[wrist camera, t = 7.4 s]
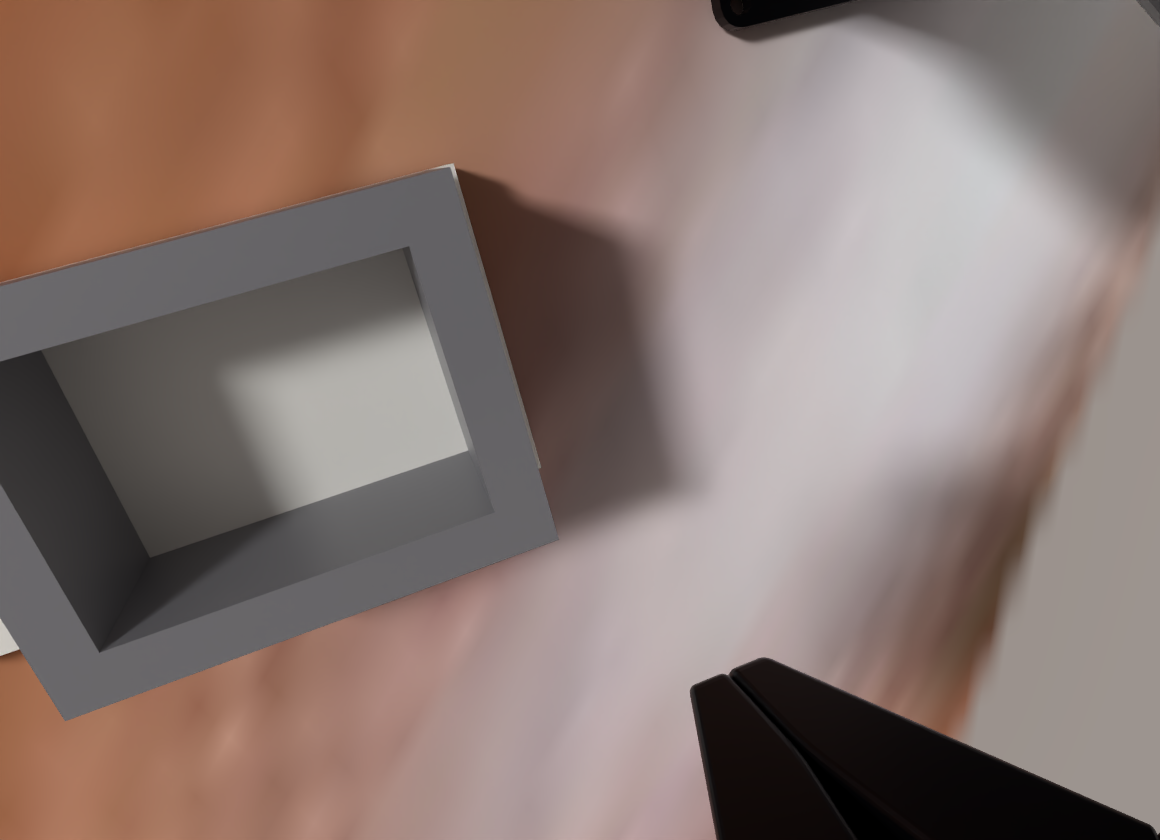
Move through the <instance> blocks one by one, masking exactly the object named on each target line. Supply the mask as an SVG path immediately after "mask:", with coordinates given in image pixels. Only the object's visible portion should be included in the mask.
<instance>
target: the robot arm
mask: <svg viewBox="0 0 1160 840" xmlns="http://www.w3.org/2000/svg"><path fill="white" fill-rule="evenodd" d="M853 1H857V0H742V3H743V9H742V12H741V14H740V15H737V14H735V13H734V12H733V11H732V8H731V5H730V4H731V0H711V3H712V10H713V14H714V16H715V19H716V21H717V22H718V24H719V25H720V26H721V27H722V28H724V29H726V30H728V31H735V30H740V29H744V28H748V27H752V26H756V25H760V24H764V23H768V22H772V21H776V20H780V19H784V18H788V17H792V16H796V15H800V14H804V13H808V12H812V11H816V10H820V9H824V8H828V7H832V6H837V5H841V4H845V3H849V2H853ZM1137 1H1138V3H1139V4H1140V5H1141V6H1142V7H1143V9H1144V10H1145V11H1146V12H1147V13H1148V14H1149V16H1150V17H1151V18H1152V19H1153V20H1154V22H1155V23H1156V24H1157V25H1159V26H1160V0H1137ZM690 697H691V702H692V708H693V713H694V719H695V724H696V730H697V735H698V741H699V746H700V751H701V757H702V762H703V768H704V773H705V779H706V784H707V790H708V795H709V801H710V806H711V812H712V817H713V823H714V828H715V834H716V839H717V840H1160V833H1159V834H1158V835H1157V833H1156V831H1155V829H1154V828H1153V827H1152V826H1151V825H1149V824H1147V823H1144V822H1142V821H1140V820H1138V819H1135V818H1133V817H1131V816H1128V815H1126V814H1124V813H1122V812H1119V811H1117V810H1115V809H1113V808H1110V807H1108V806H1106V805H1103V804H1101V803H1099V802H1097V801H1094V800H1092V799H1090V798H1087V797H1085V796H1083V795H1081V794H1078V793H1076V792H1073V791H1071V790H1069V789H1067V788H1065V787H1062V786H1060V785H1058V784H1055V783H1053V782H1051V781H1049V780H1046V779H1044V778H1042V777H1040V776H1037V775H1035V774H1033V773H1030V772H1028V771H1026V770H1024V769H1021V768H1019V767H1017V766H1014V765H1012V764H1010V763H1008V762H1005V761H1003V760H1001V759H998V758H996V757H994V756H992V755H989V754H987V753H985V752H983V751H980V750H978V749H976V748H973V747H971V746H969V745H967V744H964V743H962V742H960V741H957V740H955V739H953V738H951V737H948V736H946V735H944V734H941V733H939V732H937V731H935V730H932V729H930V728H928V727H925V726H923V725H921V724H919V723H916V722H914V721H912V720H910V719H907V718H905V717H903V716H900V715H898V714H896V713H894V712H891V711H889V710H887V709H884V708H882V707H880V706H878V705H875V704H873V703H871V702H868V701H866V700H864V699H862V698H859V697H857V696H855V695H852V694H850V693H848V692H846V691H843V690H841V689H839V688H836V687H834V686H832V685H830V684H827V683H825V682H823V681H821V680H818V679H816V678H814V677H811V676H809V675H807V674H805V673H802V672H800V671H798V670H795V669H793V668H791V667H789V666H786V665H784V664H782V663H779V662H777V661H775V660H773V659H770V658H764V657H763V658H758V659H756V660H753V661H751V662H748V663H746V664H744V665H741V666H739V667H736V668H734V669H732V670H731V672H730V673H729V675H726V674H719V675H717V676H714V677H712V678H709V679H707V680H704V681H702V682H700V683H697V684H695V685H693V686H692V687H691V689H690Z"/></svg>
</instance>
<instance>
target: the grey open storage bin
mask: <svg viewBox="0 0 1160 840" xmlns="http://www.w3.org/2000/svg"><path fill="white" fill-rule="evenodd" d="M539 468H542V467H541V464H540V460H539V457H538V454H537V450H536V447H535V443H534V440H533V436H532V433H531V429H530V426H529V422H528V419H527V416H526V412H525V409H524V405H523V402H522V398H521V395H520V391H519V388H518V384H517V381H516V378H515V374H514V371H513V367H512V364H511V360H510V357H509V353H508V350H507V347H506V343H505V340H504V336H503V333H502V329H501V326H500V322H499V319H498V315H497V312H496V309H495V305H494V302H493V298H492V295H491V291H490V288H489V284H488V281H487V277H486V274H485V271H484V267H483V264H482V260H481V257H480V253H479V250H478V246H477V243H476V239H475V236H474V233H473V229H472V226H471V222H470V219H469V215H468V212H467V208H466V205H465V201H464V198H463V195H462V191H461V188H460V184H459V181H458V177H457V174H456V170H455V167H454V163H452V164H447V165H443V166H439V167H435V168H431V169H428V170H424V171H420V172H416V173H412V174H409V175H405V176H401V177H397V178H394V179H390V180H386V181H382V182H378V183H375V184H371V185H367V186H363V187H360V188H356V189H352V190H348V191H344V192H341V193H337V194H333V195H329V196H326V197H322V198H318V199H314V200H310V201H307V202H303V203H299V204H295V205H292V206H288V207H284V208H280V209H276V210H273V211H269V212H265V213H261V214H257V215H254V216H250V217H246V218H242V219H239V220H235V221H231V222H227V223H223V224H220V225H216V226H212V227H208V228H205V229H201V230H197V231H193V232H189V233H186V234H182V235H178V236H174V237H171V238H167V239H163V240H159V241H155V242H152V243H148V244H144V245H140V246H137V247H133V248H129V249H125V250H121V251H118V252H114V253H110V254H106V255H103V256H99V257H95V258H91V259H87V260H84V261H80V262H76V263H72V264H68V265H65V266H61V267H57V268H53V269H50V270H46V271H42V272H38V273H34V274H31V275H27V276H23V277H19V278H16V279H12V280H8V281H4V282H0V656H1V655H4V654H7V653H10V652H13V651H16V650H19V649H20V650H21V652H22V654H23V655H24V657H25V658H26V660H27V662H28V663H29V665H30V666H31V668H32V669H33V671H34V673H35V674H36V676H37V677H38V679H39V681H40V682H41V684H42V685H43V687H44V688H45V690H46V692H47V693H48V695H49V696H50V698H51V700H52V701H53V703H54V704H55V706H56V707H57V709H58V711H59V712H60V714H61V715H62V717H63V719H64V720H65V721H67V720H70V719H72V718H75V717H78V716H80V715H83V714H86V713H89V712H91V711H94V710H97V709H99V708H102V707H105V706H108V705H110V704H113V703H116V702H118V701H121V700H124V699H127V698H129V697H132V696H135V695H137V694H140V693H143V692H146V691H148V690H151V689H154V688H157V687H159V686H162V685H165V684H167V683H170V682H173V681H176V680H178V679H181V678H184V677H186V676H189V675H192V674H195V673H197V672H200V671H203V670H205V669H208V668H211V667H214V666H216V665H219V664H222V663H224V662H227V661H230V660H233V659H235V658H238V657H241V656H244V655H246V654H249V653H252V652H254V651H257V650H260V649H263V648H265V647H268V646H271V645H273V644H276V643H279V642H282V641H284V640H287V639H290V638H292V637H295V636H298V635H301V634H303V633H306V632H309V631H312V630H314V629H317V628H320V627H322V626H325V625H328V624H331V623H333V622H336V621H339V620H341V619H344V618H347V617H350V616H352V615H355V614H358V613H360V612H363V611H366V610H369V609H371V608H374V607H377V606H379V605H382V604H385V603H388V602H390V601H393V600H396V599H399V598H401V597H404V596H407V595H409V594H412V593H415V592H418V591H420V590H423V589H426V588H428V587H431V586H434V585H437V584H439V583H442V582H445V581H447V580H450V579H453V578H456V577H458V576H461V575H464V574H466V573H469V572H472V571H475V570H477V569H480V568H483V567H486V566H488V565H491V564H494V563H496V562H499V561H502V560H505V559H507V558H510V557H513V556H515V555H518V554H521V553H524V552H526V551H529V550H532V549H534V548H537V547H540V546H543V545H545V544H548V543H551V542H553V541H556V540H559V538H558V535H557V531H556V528H555V524H554V521H553V517H552V514H551V511H550V507H549V504H548V500H547V497H546V493H545V490H544V487H543V483H542V480H541V476H540V473H539Z"/></svg>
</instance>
